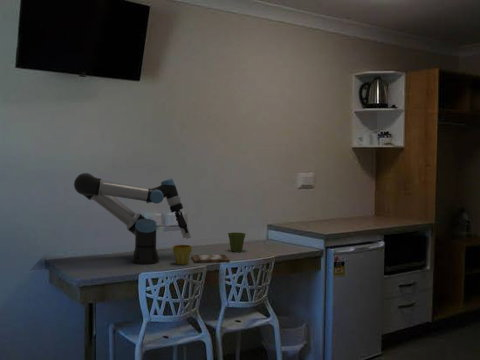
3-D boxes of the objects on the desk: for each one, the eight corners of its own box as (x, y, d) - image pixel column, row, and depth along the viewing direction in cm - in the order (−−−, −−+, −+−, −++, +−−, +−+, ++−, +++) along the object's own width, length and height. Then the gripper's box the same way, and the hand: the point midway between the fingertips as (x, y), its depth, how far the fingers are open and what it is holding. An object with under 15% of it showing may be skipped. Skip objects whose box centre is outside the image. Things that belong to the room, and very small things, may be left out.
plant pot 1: (169, 263, 283) (169, 246, 283) (179, 260, 292) (179, 243, 292) (184, 266, 278) (184, 248, 278) (194, 262, 287) (195, 245, 287)
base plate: (194, 263, 286) (194, 260, 286) (191, 257, 302) (191, 254, 302) (229, 262, 291) (229, 259, 290) (224, 256, 306) (224, 254, 306)
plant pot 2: (249, 251, 327) (249, 233, 326) (236, 253, 319) (236, 235, 318) (236, 248, 335) (237, 231, 335) (223, 250, 327) (223, 233, 327)
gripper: (183, 201, 292) (196, 236, 292) (178, 202, 316) (190, 235, 316) (171, 205, 290) (183, 241, 290) (167, 206, 314) (178, 239, 315)
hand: (187, 237), depth 303 cm, fingers open, 13 cm apart
